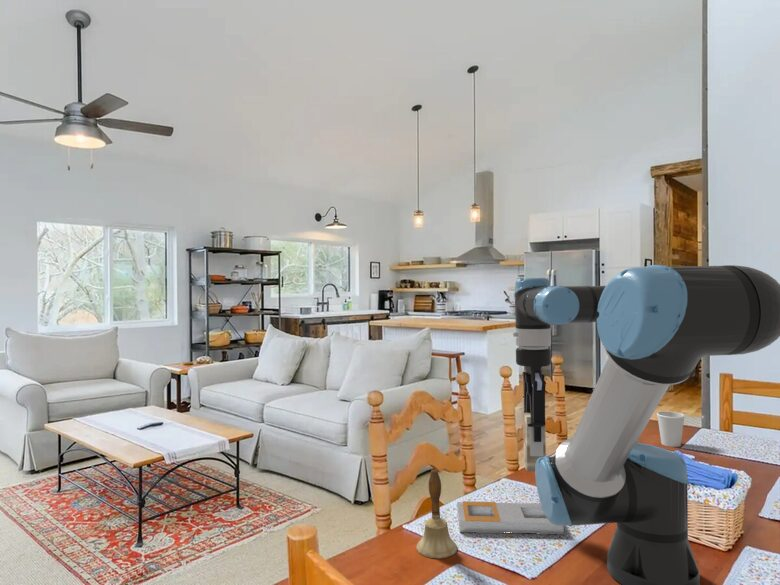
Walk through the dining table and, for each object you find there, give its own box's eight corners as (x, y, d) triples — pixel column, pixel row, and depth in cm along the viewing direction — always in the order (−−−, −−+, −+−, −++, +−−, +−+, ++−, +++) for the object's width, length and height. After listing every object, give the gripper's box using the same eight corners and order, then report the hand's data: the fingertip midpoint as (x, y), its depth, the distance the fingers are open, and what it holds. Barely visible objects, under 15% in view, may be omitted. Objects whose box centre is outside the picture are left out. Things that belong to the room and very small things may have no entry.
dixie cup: (651, 442, 175) (650, 412, 175) (668, 439, 179) (667, 410, 179) (673, 449, 168) (673, 418, 168) (691, 445, 171) (690, 415, 171)
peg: (545, 471, 114) (545, 417, 114) (527, 471, 115) (526, 416, 115) (542, 465, 118) (541, 412, 118) (524, 465, 119) (523, 412, 119)
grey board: (563, 534, 111) (563, 522, 111) (459, 532, 113) (459, 520, 113) (552, 514, 121) (552, 502, 121) (457, 512, 123) (457, 501, 123)
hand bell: (424, 561, 101) (423, 479, 101) (411, 541, 109) (410, 465, 109) (463, 555, 104) (462, 475, 103) (448, 536, 112) (447, 461, 112)
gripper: (510, 343, 125) (511, 441, 125) (522, 352, 108) (524, 465, 108) (542, 343, 125) (543, 441, 125) (559, 351, 108) (561, 465, 108)
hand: (534, 452), depth 116 cm, fingers closed on peg, 4 cm apart
